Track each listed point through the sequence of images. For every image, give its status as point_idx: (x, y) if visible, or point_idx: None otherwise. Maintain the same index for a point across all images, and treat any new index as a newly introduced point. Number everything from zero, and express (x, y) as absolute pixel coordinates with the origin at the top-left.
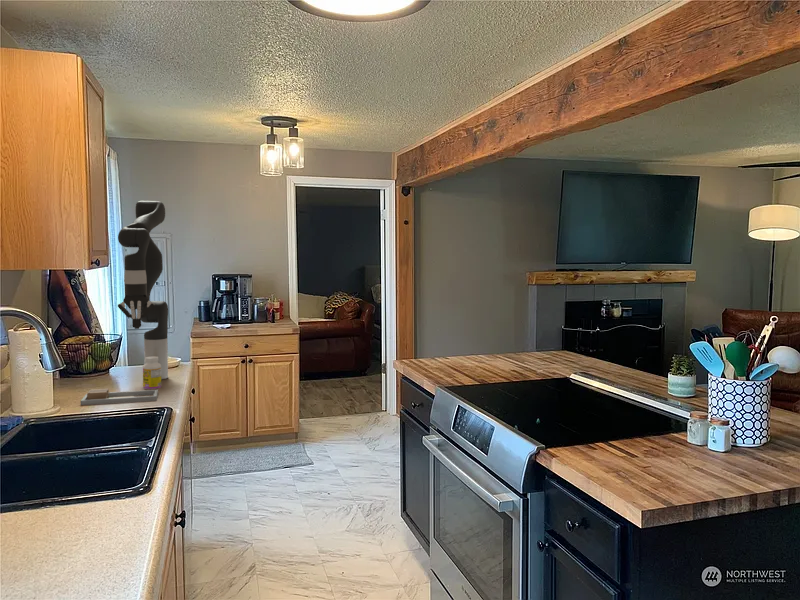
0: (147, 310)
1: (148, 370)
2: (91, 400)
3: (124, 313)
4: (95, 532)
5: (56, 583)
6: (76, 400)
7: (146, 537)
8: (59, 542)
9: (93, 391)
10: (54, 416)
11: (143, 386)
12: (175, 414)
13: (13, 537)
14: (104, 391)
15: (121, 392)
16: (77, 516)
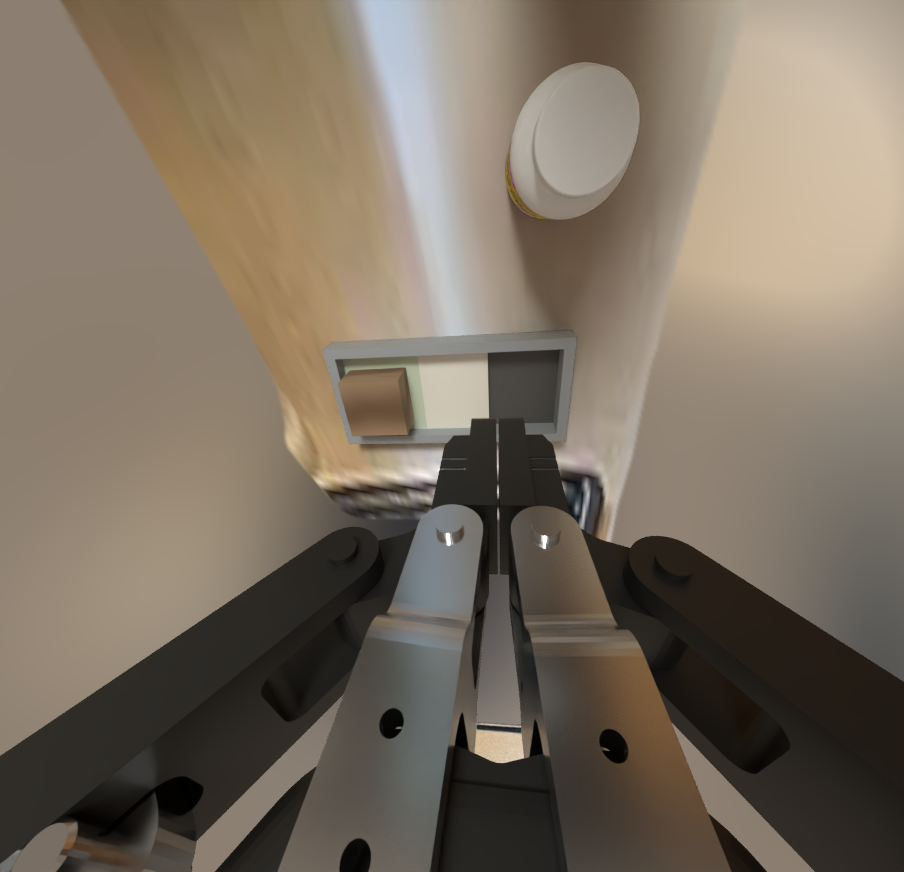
0: (780, 790)
1: (545, 217)
2: (377, 443)
3: (292, 670)
4: (513, 756)
5: None
6: (298, 334)
7: None
8: (493, 757)
9: (362, 416)
10: (330, 492)
11: (508, 189)
12: (604, 538)
13: None
14: (398, 424)
15: (440, 354)
16: (496, 742)
